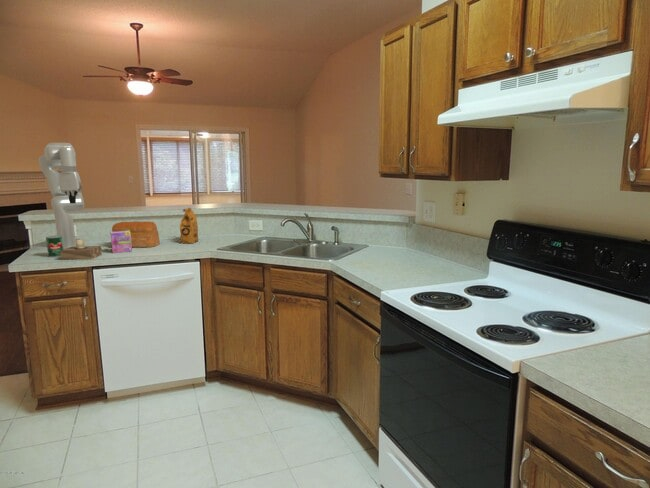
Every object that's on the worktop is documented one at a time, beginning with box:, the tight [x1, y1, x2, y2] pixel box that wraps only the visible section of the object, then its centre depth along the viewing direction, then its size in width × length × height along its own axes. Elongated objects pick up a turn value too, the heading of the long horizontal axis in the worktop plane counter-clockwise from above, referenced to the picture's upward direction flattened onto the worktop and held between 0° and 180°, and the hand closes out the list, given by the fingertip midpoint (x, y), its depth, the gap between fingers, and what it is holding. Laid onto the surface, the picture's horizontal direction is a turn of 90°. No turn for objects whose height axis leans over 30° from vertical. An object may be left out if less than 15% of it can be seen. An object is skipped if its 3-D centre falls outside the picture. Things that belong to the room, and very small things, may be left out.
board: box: [60, 245, 103, 261], centre depth 249 cm, size 12×16×5 cm
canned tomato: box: [45, 234, 64, 258], centre depth 254 cm, size 8×8×11 cm
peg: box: [75, 238, 86, 249], centre depth 249 cm, size 4×4×10 cm
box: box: [109, 230, 133, 254], centre depth 263 cm, size 10×6×12 cm, turn 117°
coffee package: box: [179, 206, 199, 245], centre depth 289 cm, size 10×12×22 cm
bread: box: [111, 221, 161, 248], centre depth 280 cm, size 14×27×15 cm, turn 90°
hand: (72, 203), depth 252 cm, fingers closed
